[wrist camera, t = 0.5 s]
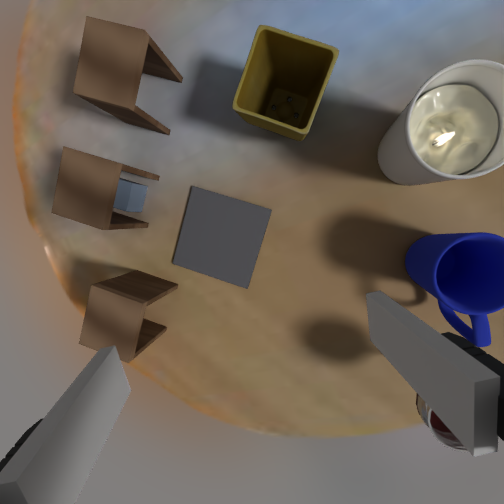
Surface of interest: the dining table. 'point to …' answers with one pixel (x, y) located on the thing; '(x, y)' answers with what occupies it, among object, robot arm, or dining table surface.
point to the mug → (461, 278)
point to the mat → (221, 236)
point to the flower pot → (283, 81)
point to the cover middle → (92, 190)
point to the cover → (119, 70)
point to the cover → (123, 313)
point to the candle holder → (448, 127)
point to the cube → (130, 196)
